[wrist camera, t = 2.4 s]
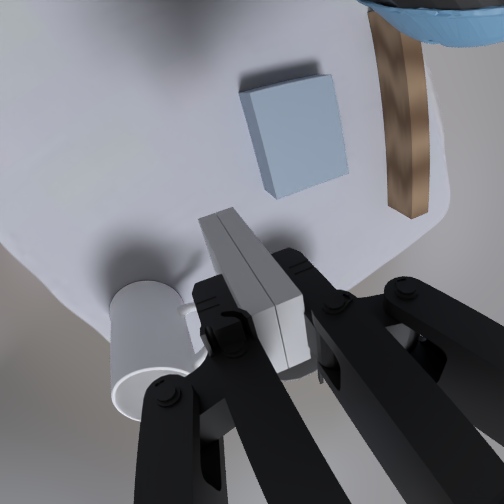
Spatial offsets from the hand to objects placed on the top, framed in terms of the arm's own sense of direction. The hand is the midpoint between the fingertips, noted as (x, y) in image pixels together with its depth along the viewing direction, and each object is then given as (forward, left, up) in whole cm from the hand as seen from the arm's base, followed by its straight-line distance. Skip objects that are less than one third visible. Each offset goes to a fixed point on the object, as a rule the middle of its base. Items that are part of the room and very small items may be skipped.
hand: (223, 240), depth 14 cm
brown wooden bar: (0, +25, -16) cm, 29 cm away
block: (0, +11, -17) cm, 20 cm away
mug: (+14, -7, -17) cm, 23 cm away
